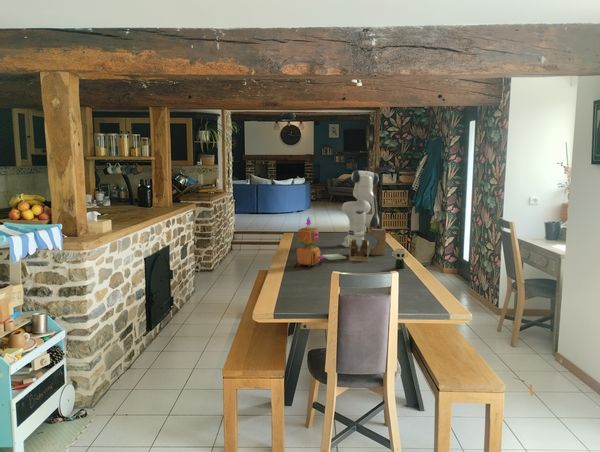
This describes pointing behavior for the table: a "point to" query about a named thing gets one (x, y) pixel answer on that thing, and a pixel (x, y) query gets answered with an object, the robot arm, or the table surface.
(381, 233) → the decorative block
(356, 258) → the oak cubby
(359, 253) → the walnut block
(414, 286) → the table surface
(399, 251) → the character mug
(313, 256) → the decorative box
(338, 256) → the sage board
